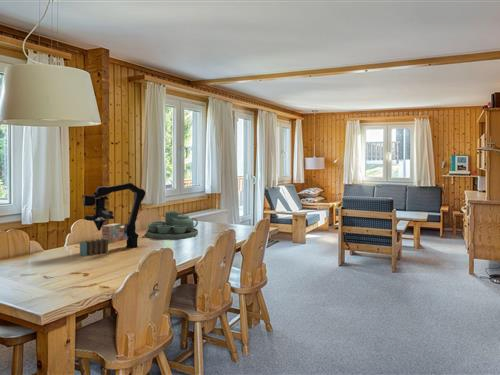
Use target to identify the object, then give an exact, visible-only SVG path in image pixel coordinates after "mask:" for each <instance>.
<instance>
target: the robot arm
mask: <svg viewBox="0 0 500 375" xmlns="http://www.w3.org/2000/svg"><path fill="white" fill-rule="evenodd" d="M125 190H129V191H130V192H132V193H133V204H132V207H131V211H130V214H129V218H128V222H127V223H124V225H123V226H124V233H125V234H126V235H127V237H128V239H126V247H127V248H130V249H131V248H139V246H138V239H139V234H138V233H137V232H136V228H137V227H136V221H137V219H138V214H139V211H140V206H141V204H142V202H143V200H144V198H145V196H146V190H145V189H143V188H139V187H137V186H136V185H135V184H133V183H132V182H127V183H122V184H115V185H111V186H98V187H96V189H95V192H94V193H92V195H85V194H84V196H83V199H82V205H83V207H94V206H95V207H94V208H93V210H94V212H95V213H93V215H92V214H89V215H88V214H87V215H85V216H84V220H85V221H92V222H93V223H94V225H95V227H96V229H97V231H102V226H104V223H106V222H107V221H108V220H114V219H115V216H114V212H113V210H108V211H107V208H106V200H109V198H108V196H107V195H110V194H111V193H116V192H121V191H125Z"/></svg>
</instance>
